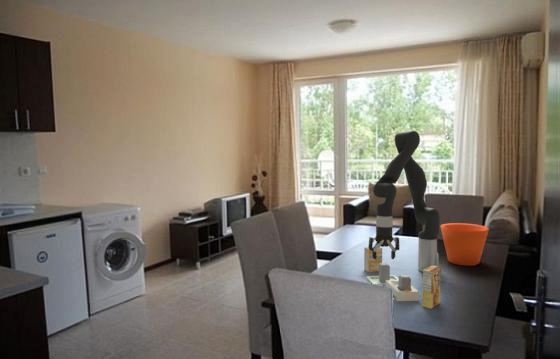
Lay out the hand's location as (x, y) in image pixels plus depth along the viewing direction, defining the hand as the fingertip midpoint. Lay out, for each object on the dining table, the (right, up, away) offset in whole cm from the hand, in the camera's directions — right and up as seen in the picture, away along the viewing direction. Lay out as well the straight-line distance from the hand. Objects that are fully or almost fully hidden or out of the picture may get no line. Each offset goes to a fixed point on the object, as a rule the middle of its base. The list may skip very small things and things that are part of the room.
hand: (383, 258), depth 195 cm
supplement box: (-1, -11, +20) cm, 23 cm away
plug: (0, -11, +1) cm, 11 cm away
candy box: (+13, -14, -27) cm, 33 cm away
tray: (0, -12, +1) cm, 12 cm away
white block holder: (+4, -13, -14) cm, 20 cm away
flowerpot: (+55, -9, +37) cm, 67 cm away
